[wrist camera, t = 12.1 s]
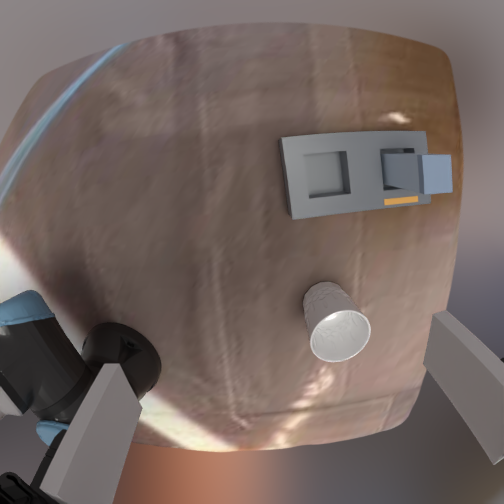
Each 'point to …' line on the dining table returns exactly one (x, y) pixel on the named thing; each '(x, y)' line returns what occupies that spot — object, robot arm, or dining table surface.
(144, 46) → the dining table surface
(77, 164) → the dining table surface
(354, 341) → the white cup
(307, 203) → the panel
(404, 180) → the plug
